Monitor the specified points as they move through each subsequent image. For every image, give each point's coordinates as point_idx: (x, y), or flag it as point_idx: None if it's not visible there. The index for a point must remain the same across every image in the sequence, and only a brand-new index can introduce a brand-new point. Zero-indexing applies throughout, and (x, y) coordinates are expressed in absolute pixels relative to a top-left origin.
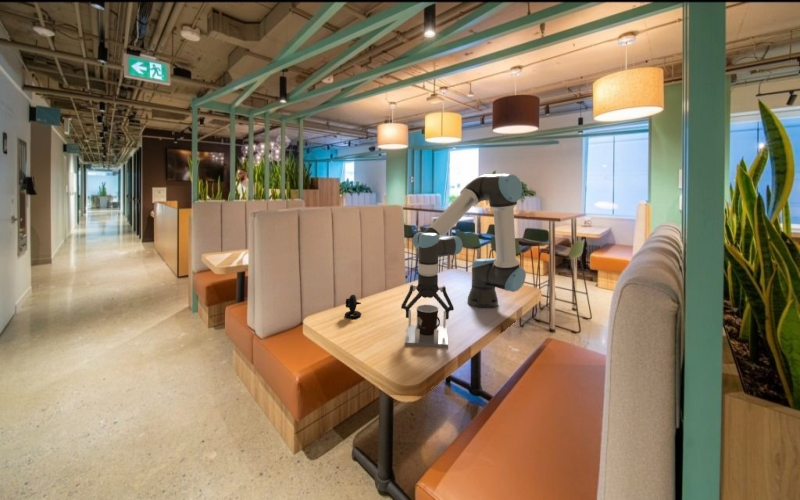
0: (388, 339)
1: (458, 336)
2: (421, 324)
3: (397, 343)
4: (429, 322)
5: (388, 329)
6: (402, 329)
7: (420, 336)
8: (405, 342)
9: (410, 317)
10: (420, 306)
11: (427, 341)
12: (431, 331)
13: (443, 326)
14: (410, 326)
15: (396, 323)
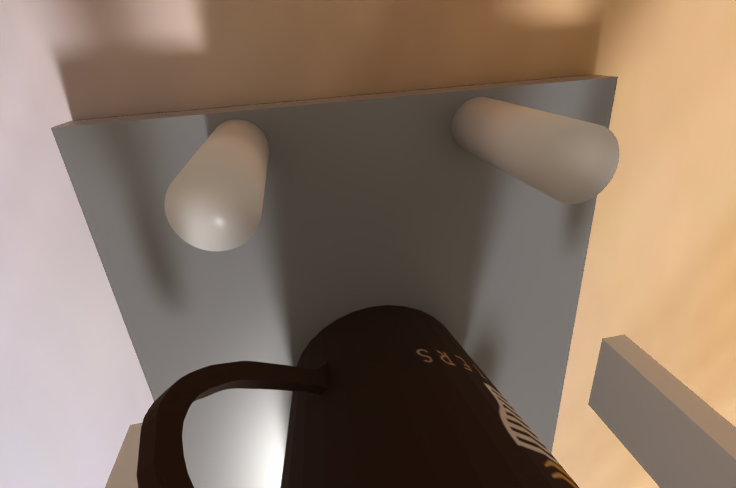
0: (725, 185)
1: (38, 413)
2: (486, 390)
3: (659, 115)
4: (381, 432)
5: (689, 363)
6: (582, 393)
7: (441, 269)
8: (611, 82)
9: (719, 444)
10: None
11: (353, 163)
12: (329, 352)
13: None
14: (603, 344)
15: (616, 464)
